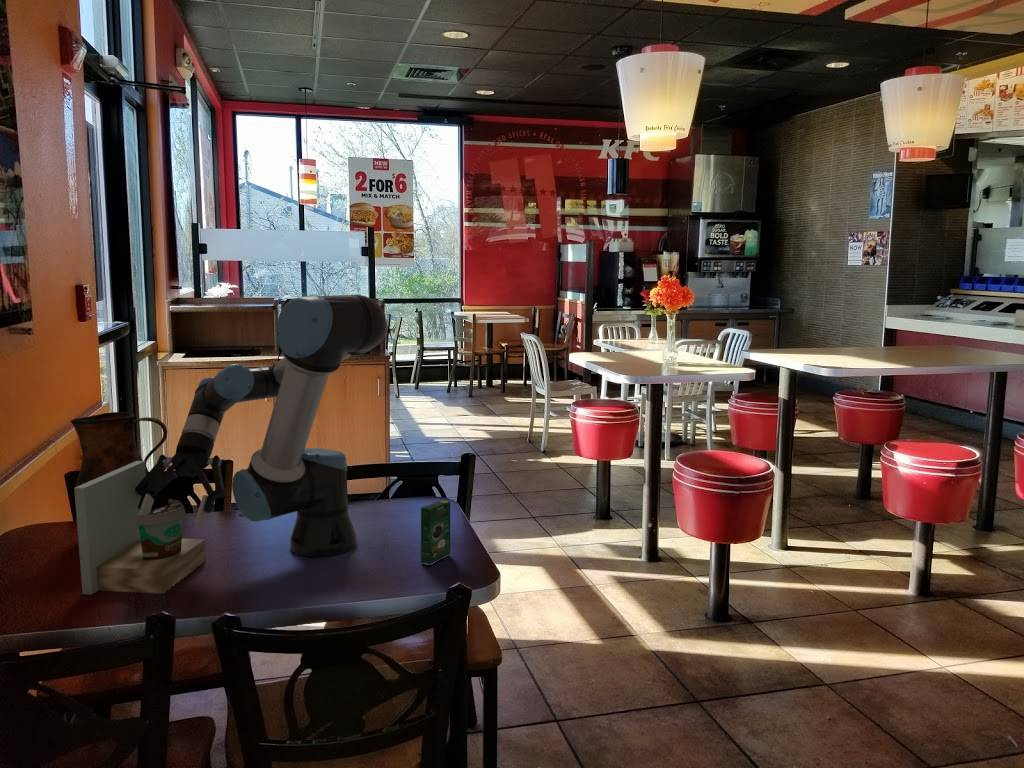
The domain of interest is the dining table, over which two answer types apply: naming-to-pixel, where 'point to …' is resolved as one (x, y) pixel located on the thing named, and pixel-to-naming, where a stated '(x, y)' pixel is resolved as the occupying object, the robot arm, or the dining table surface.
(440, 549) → the coffee box
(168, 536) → the food container
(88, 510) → the wall board
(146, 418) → the pitcher
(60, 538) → the dining table surface
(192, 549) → the block
